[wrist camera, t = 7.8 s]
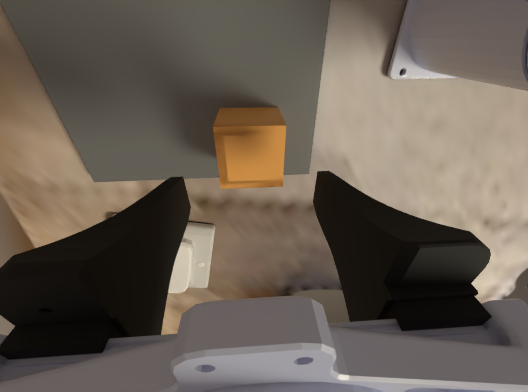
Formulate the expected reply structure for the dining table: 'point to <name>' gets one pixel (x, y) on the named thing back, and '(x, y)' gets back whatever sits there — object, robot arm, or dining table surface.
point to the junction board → (173, 76)
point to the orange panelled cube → (250, 147)
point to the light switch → (193, 258)
